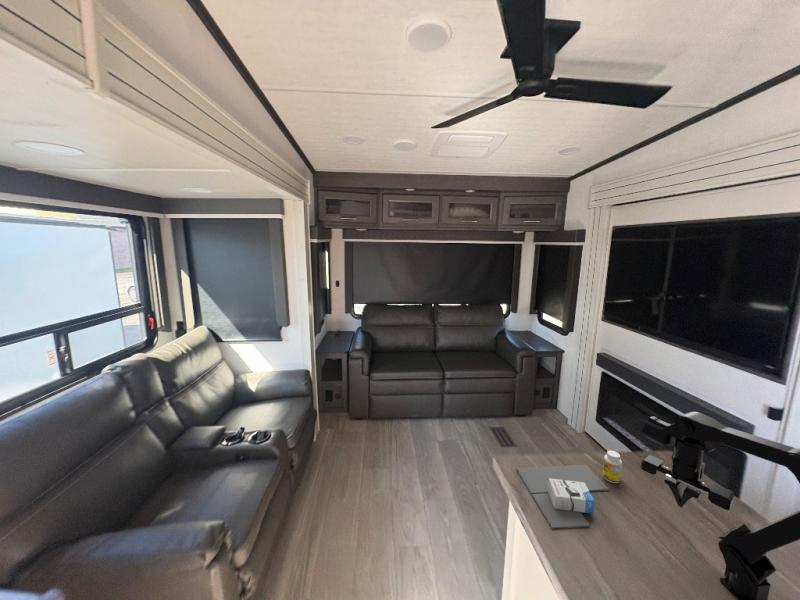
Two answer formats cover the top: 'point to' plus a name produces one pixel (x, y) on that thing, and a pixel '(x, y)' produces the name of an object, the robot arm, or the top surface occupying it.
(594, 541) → the top surface
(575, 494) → the ink box
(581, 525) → the rubber mat
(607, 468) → the supplement bottle
